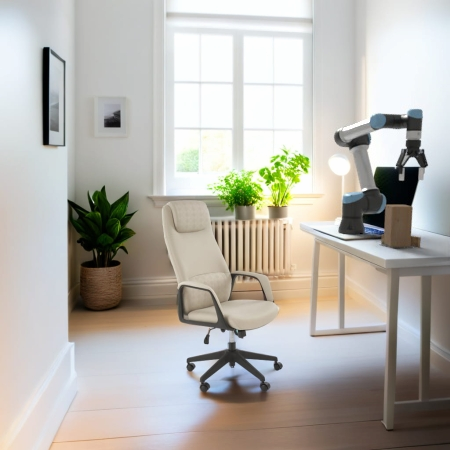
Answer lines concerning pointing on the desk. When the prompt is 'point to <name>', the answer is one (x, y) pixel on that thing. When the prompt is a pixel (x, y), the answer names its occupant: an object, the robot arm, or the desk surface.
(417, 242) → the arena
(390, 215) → the wooden block
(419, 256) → the desk surface
